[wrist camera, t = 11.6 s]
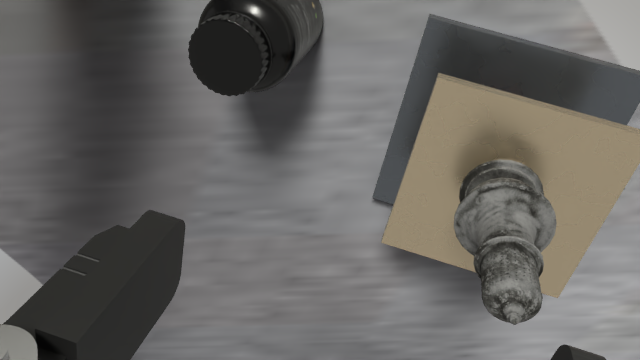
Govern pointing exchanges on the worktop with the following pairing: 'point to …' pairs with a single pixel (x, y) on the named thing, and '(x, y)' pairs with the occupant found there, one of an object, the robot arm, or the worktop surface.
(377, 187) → the stand
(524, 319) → the stone finial
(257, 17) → the supplement bottle
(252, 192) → the worktop surface
